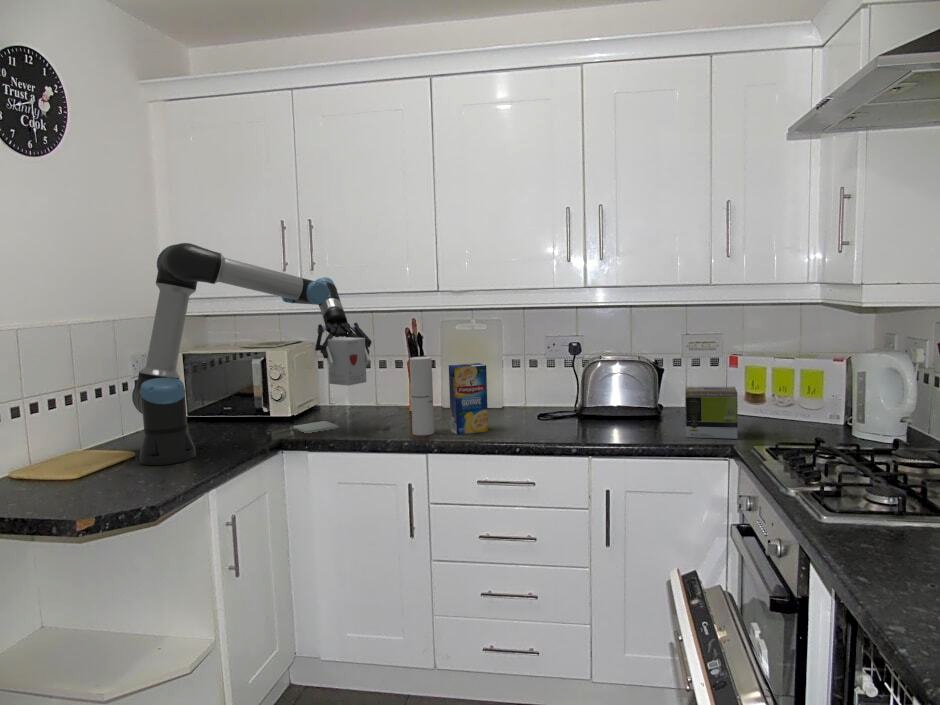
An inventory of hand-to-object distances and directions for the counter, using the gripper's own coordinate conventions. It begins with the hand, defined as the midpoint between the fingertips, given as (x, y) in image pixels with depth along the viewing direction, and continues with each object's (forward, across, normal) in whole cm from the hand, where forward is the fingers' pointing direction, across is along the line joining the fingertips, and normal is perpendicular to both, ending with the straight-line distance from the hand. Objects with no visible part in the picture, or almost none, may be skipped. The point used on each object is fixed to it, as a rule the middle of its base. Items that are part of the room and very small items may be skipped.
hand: (349, 363), depth 223 cm
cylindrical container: (+25, -21, -9) cm, 33 cm away
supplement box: (+3, 0, -7) cm, 8 cm away
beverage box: (+29, -35, -5) cm, 45 cm away
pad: (+4, +8, -30) cm, 31 cm away
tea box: (+63, -93, +30) cm, 117 cm away
